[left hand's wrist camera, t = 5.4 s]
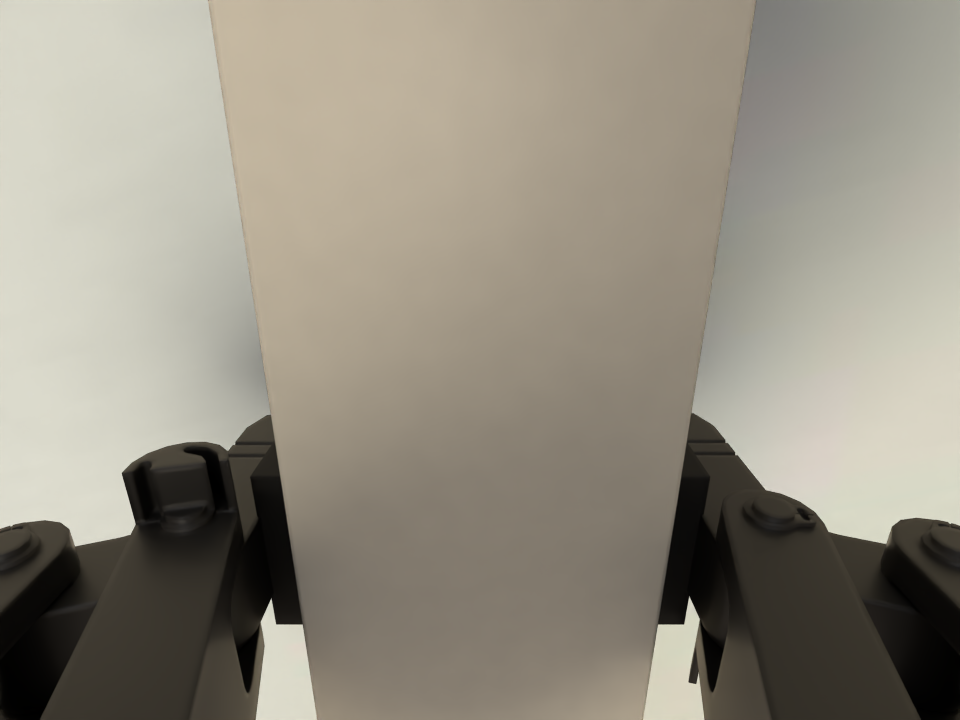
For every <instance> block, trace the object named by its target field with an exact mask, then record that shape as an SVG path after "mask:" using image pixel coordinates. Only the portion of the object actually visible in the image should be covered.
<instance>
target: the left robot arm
mask: <svg viewBox="0 0 960 720" xmlns="http://www.w3.org/2000/svg"><path fill="white" fill-rule="evenodd" d="M122 476H123V479H124V483H125V487H126V490H127V494H128V497H129V501H130V505H131V508H132V512H133V516H134V519H135V523H136V525H135V527H134V529H133V531H132V533H131V535H128V536H125V537H121V538H116V539H111V540H106V541H101V542H96V543H91V544H86V545H81V546H76V547H75V545H74V542H73V539H72V536H71V533H70V530H69V529H68V528H67V527H66V526H64V525H63V524H62V523H60V522H53V521H46V520H44V521H35V522H27V523H20V524H15V525H13V526H11V527H10V526H8V527H5V528H2V529H0V720H256V712H257V704H258V695H259V687H260V679H261V671H262V663H263V655H264V639H263V632H262V627H261V620H262V618H263V615H264V613H265V611H266V609H267V606H268V604H269V602H270V600H271V598H272V603H273V609H274V614H275V620H276V624H303V622H302V615H301V609H300V602H299V596H298V589H297V583H296V576H295V569H294V563H293V556H292V550H291V543H290V537H289V530H288V523H287V517H286V510H285V504H284V497H283V490H282V484H281V477H280V471H279V464H278V458H277V451H276V444H275V438H274V431H273V425H272V418H271V415H267V416H265V417H264V418H262V419H260V420H259V421H257V422H255V423H254V424H252V425H251V426H249V427H247V428H246V430H245V431H244V432H243V433H242V435H241V436H240V437H239V438H238V440H237V441H236V442H235V445H233V446H232V447H231V448H230V450H229V451H227V450H225V449H224V448H223V447H221V446H220V445H217V444H213V443H208V442H187V443H182V444H177V445H172V446H167V447H164V448H161V449H159V450H156V451H153V452H150V453H148V454H146V455H144V456H143V457H141V458H139V459H137V460H136V461H134V462H132V463H131V464H130V465H129V466H128V467H127V468H126V469H125V470H124V471H123V472H122ZM689 596H690V598H691V601H692V603H693V605H694V607H695V609H696V612H697V614H698V616H699V618H700V622H699V627H698V632H697V638H696V643H695V648H694V653H693V658H692V664H691V669H690V675H689V683H694V684H696V682H697V677H698V672H699V678H700V686H701V694H702V702H703V710H704V718H705V720H960V526H959V525H956V524H952V523H951V524H949V523H948V522H944V521H940V520H931V519H922V518H912V519H905V520H900V521H899V522H898V523H896V524H895V525H894V526H892V529H891V532H890V535H889V538H888V541H887V544H882V543H877V542H872V541H867V540H862V539H857V538H852V537H847V536H842V535H838V534H834V533H830V532H828V530H827V528H826V526H825V524H824V523H823V521H822V520H821V519H820V518H819V517H818V515H817V514H816V513H815V512H814V511H813V510H811V509H810V508H808V507H807V506H805V505H804V504H802V503H801V502H799V501H797V500H795V499H792V498H790V497H788V496H785V495H783V494H780V493H775V492H771V491H766V490H765V489H764V488H763V486H762V485H761V484H760V483H759V481H758V480H757V479H756V478H755V476H754V475H753V474H752V473H751V471H750V470H749V469H748V468H747V466H746V465H745V464H744V463H743V462H742V460H741V459H740V458H739V457H738V455H735V452H734V450H733V449H732V448H731V447H730V445H729V444H728V443H725V439H724V438H723V437H722V435H721V434H720V433H719V432H718V430H717V429H716V428H715V427H714V426H713V425H712V424H710V423H708V422H707V421H705V420H703V419H702V418H700V417H698V416H697V415H695V414H694V413H691V417H690V424H689V430H688V436H687V443H686V449H685V455H684V462H683V468H682V474H681V481H680V487H679V493H678V500H677V506H676V512H675V519H674V525H673V531H672V538H671V544H670V550H669V557H668V563H667V570H666V576H665V582H664V589H663V595H662V601H661V608H660V614H659V620H658V624H684V622H685V616H686V611H687V605H688V599H689Z"/></svg>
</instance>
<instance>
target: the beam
mask: <svg viewBox="0 0 960 720" xmlns="http://www.w3.org/2000/svg"><path fill="white" fill-rule="evenodd" d="M208 3H209V10H210V17H211V23H212V30H213V36H214V43H215V49H216V56H217V63H218V69H219V76H220V82H221V89H222V95H223V102H224V109H225V115H226V122H227V128H228V135H229V142H230V148H231V155H232V161H233V168H234V174H235V181H236V188H237V194H238V201H239V207H240V214H241V221H242V227H243V234H244V240H245V247H246V253H247V260H248V267H249V273H250V280H251V286H252V293H253V300H254V306H255V313H256V319H257V326H258V332H259V339H260V346H261V352H262V359H263V365H264V372H265V379H266V385H267V392H268V398H269V405H270V411H271V418H272V425H273V431H274V438H275V444H276V451H277V458H278V464H279V471H280V477H281V484H282V490H283V497H284V504H285V510H286V517H287V523H288V530H289V537H290V543H291V550H292V556H293V563H294V569H295V576H296V583H297V589H298V596H299V602H300V609H301V615H302V622H303V629H304V635H305V642H306V648H307V655H308V662H309V668H310V675H311V681H312V688H313V694H314V701H315V708H316V714H317V720H643V715H644V709H645V703H646V696H647V690H648V684H649V677H650V671H651V665H652V658H653V652H654V646H655V639H656V633H657V627H658V620H659V614H660V608H661V601H662V595H663V589H664V582H665V576H666V570H667V563H668V557H669V550H670V544H671V538H672V531H673V525H674V519H675V512H676V506H677V500H678V493H679V487H680V481H681V474H682V468H683V462H684V455H685V449H686V443H687V436H688V430H689V424H690V417H691V411H692V405H693V398H694V392H695V386H696V379H697V373H698V367H699V360H700V354H701V348H702V341H703V335H704V329H705V322H706V316H707V310H708V303H709V297H710V291H711V284H712V278H713V272H714V265H715V259H716V253H717V246H718V240H719V234H720V227H721V221H722V215H723V208H724V202H725V196H726V189H727V183H728V177H729V170H730V164H731V158H732V151H733V145H734V139H735V132H736V126H737V120H738V113H739V107H740V101H741V94H742V88H743V82H744V75H745V69H746V63H747V56H748V50H749V44H750V37H751V31H752V25H753V18H754V12H755V6H756V0H208Z"/></svg>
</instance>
